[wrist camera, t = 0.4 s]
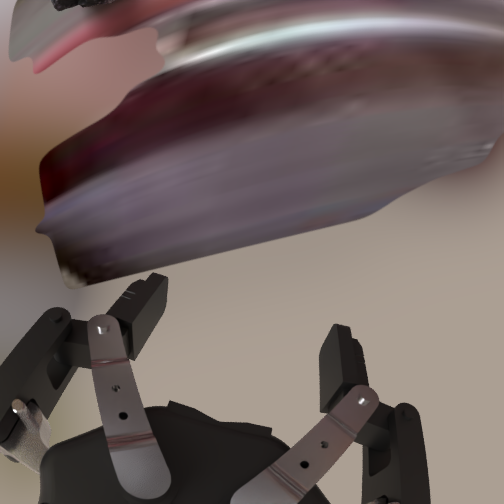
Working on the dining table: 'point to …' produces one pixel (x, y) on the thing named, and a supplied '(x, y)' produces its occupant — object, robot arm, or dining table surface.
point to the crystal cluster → (77, 3)
